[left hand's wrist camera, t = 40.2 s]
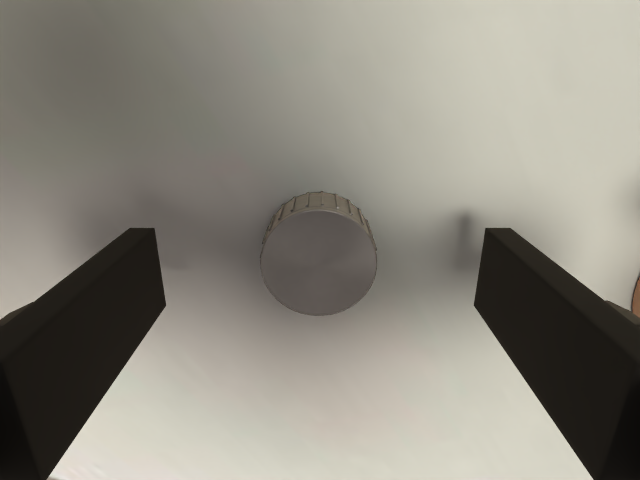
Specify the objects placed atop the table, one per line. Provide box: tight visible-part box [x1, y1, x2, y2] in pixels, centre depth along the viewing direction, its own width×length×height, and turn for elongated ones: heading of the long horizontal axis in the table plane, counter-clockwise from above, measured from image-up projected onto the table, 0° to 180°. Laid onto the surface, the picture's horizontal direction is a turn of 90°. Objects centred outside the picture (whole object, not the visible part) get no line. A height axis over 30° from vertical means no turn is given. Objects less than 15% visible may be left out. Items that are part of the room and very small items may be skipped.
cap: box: [260, 191, 377, 316], centre depth 14 cm, size 4×4×2 cm
